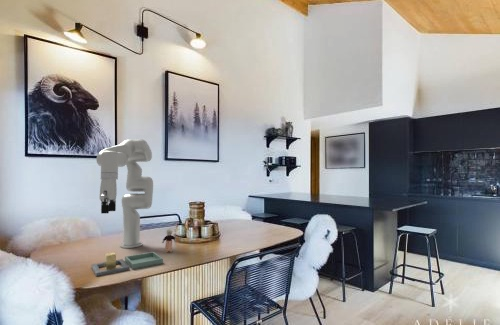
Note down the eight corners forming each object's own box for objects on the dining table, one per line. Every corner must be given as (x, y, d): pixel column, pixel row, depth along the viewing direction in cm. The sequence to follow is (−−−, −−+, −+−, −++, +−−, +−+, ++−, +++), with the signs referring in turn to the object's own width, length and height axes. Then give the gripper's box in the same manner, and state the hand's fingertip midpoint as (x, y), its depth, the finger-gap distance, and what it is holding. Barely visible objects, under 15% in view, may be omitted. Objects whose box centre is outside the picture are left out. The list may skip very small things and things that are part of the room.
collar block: (91, 267, 142) (91, 264, 142) (122, 262, 150) (122, 259, 150) (96, 276, 130) (96, 273, 130) (129, 269, 138) (129, 266, 138)
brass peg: (104, 268, 140) (104, 253, 141) (113, 266, 143) (114, 252, 143) (106, 270, 137) (106, 255, 137) (115, 269, 140) (115, 254, 140)
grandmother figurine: (163, 253, 165) (164, 230, 165) (161, 251, 168) (161, 229, 168) (177, 251, 169) (177, 228, 169) (174, 249, 172) (174, 227, 172)
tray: (124, 261, 151) (124, 256, 151) (153, 256, 159) (153, 251, 159) (132, 269, 139) (132, 264, 139) (163, 263, 148) (163, 258, 148)
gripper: (107, 176, 152) (106, 210, 151) (94, 176, 135) (93, 214, 134) (122, 176, 153) (122, 210, 152) (111, 176, 136) (110, 214, 135)
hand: (108, 212), depth 143 cm, fingers open, 9 cm apart
